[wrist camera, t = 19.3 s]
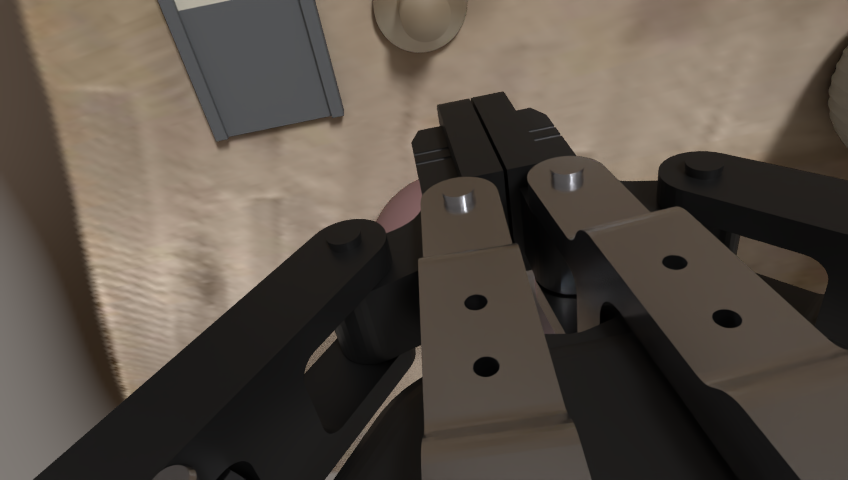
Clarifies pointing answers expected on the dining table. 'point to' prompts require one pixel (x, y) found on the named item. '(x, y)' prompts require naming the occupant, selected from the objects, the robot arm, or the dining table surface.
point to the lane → (255, 62)
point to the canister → (840, 98)
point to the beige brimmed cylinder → (419, 22)
